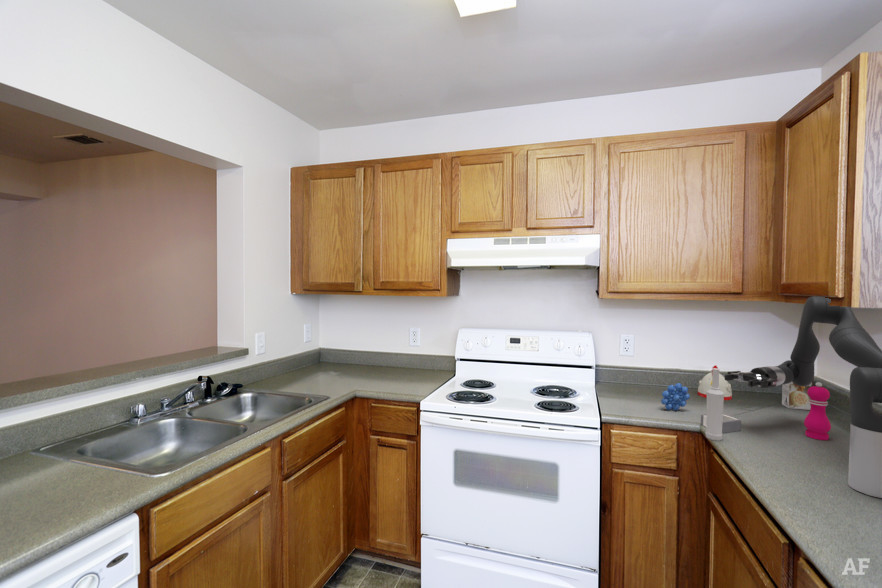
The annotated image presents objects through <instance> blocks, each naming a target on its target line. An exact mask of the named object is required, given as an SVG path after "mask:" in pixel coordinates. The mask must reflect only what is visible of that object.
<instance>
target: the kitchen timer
mask: <svg viewBox="0 0 882 588" xmlns="http://www.w3.org/2000/svg"><path fill="white" fill-rule="evenodd" d="M713 368H717V369H719V368H718V366H717V365H715V364H714V365H713V366H712V369H711V372H709V373H707V374H706V375H704V376H703V378H702V379H699V382H698V388H697V395H698V396H699V397H702V398H704V399H705V398H706V399H707V391H708V390H709V389H711V387H712V376H713V374H712V370H713ZM719 388H720V390H721V391H722V392H723V393H724V401H730V400H732V398H733V392H732V386H731V383H729V381H726V380H725V376H724V375H723V374H722V373H720V372H719Z"/></svg>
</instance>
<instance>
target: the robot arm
mask: <svg viewBox="0 0 882 588" xmlns="http://www.w3.org/2000/svg"><path fill="white" fill-rule="evenodd" d="M825 297H826V296H817V295H814V296H809V297H808V298H807V299H806V301H805V302H804V305H803V308H802V313H801V318H800V320H799V322H800V323H799V327H798V332H797V336H796V337H797V338H796V342H795V345H794V346H793V349H792V351H791V353H790V360H785V361H783V362H782V363H781V364H779V365H775V366H771V365H769V366H768V365H767V366H760V367H755V368H752V369H751V370H750V371H747V372H744V371H743V372H742V371H740V370H736V371H735V370H734V371H733V370H732V371H727V372H726V373H727V374H725V375H724V378H725V380H726V381H727V382H729V381H738V382H739V383H747V385H748V387H750V388H753V387H756V388H760V389H768V388H772V387H773V388H775V387H777V386H782V384H788V383H790V382H793V383H794V384H796V385H798V386H807V385H809V384H810V383H811V382H812V381H813V378H814V379H815V362H816V359H817V357H818V355H819V352H820V348H821V345H820V341H819V339H818V338H817V336H816V334H815V333H814V330H813V325H814V323H818V324H828V325H829V324H830V325H835V326H834V327H833V328H832V330H831V331H830V333H829V336H828V341H829V344H830V345H831V347H832V348H833V350H834V352H835V353H836V354H837V356H838V357H840V358H841V359H842V360H844V361H845V362H847V363H849V364H851V365H853V366H855V368H853V369H852V371H851V372H850V376H849V399H850V400H849V401H850V402H849V410H850V412H849V413H850V431H849V455H848V475H847V478H848V479H847V481H848V483H847V484H848V485H847V486H849V487H850V488H851V489H853V490H855V491H857V492H860V493H862V494H865V495H867V496H871V497H875V498H880V499H882V413H881V412H879V411H877V410H875V409H874V407H873V403H875V404H882V349H881V348H880V347H879V346H878V344H877V343H876V341H875V339H874V338H873V337H872V336H871V335H870V333H869V332H867V330H866V329H865V328H864V327H863V325H862V324H861V323H860V321H859V320H858V318H857V316H856V315H855V313H854V312H853V310H852V307H851V306H850V307H840V306H830V305H829V304H828V303H831V299H829V298H825Z"/></svg>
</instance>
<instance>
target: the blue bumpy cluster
mask: <svg viewBox="0 0 882 588" xmlns="http://www.w3.org/2000/svg"><path fill="white" fill-rule="evenodd" d="M688 392H689V388H688V387H687V386H683V385H682V383H678V382H677V383H675V385H674V384H669V385H668V386H667V388H666V390H664V391H662V392H661V397H663V398H661V399H660V402H661V404H662V405H665V406H664V408H665V409H666V410H667V411H671V410H673V411H679V410H680V408H684V407H685V406H686V405H687V403H688V402H687V400H690V397H691V395H690V393H688Z"/></svg>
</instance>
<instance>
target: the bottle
mask: <svg viewBox="0 0 882 588" xmlns="http://www.w3.org/2000/svg"><path fill="white" fill-rule="evenodd" d="M712 369H713V370H712ZM712 369H711V372H712V374H713V376H712V387H711V389H709V390H708V391H707V398H706V414H707V423H706V427H705V428H706V429H705V438H707V439H708V440H711V441H716V442H718V441H719V442H720V441H723V438H724V437H723V436H724V435H723V434H724V433H722V422H723V414H724V402H725V400H724V393H723V392H722V391H721V390H720V388H719V373H720V369H719V368H718V369H717V368H713V367H712Z"/></svg>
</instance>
